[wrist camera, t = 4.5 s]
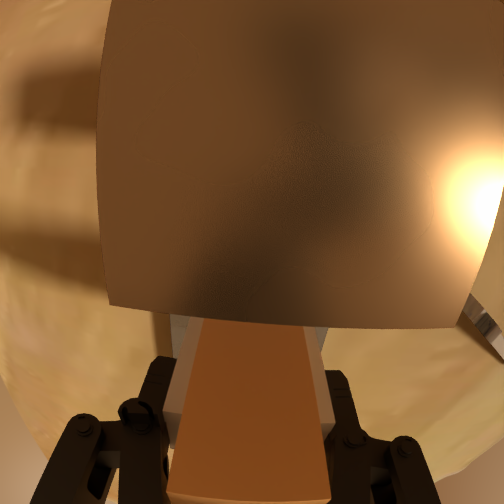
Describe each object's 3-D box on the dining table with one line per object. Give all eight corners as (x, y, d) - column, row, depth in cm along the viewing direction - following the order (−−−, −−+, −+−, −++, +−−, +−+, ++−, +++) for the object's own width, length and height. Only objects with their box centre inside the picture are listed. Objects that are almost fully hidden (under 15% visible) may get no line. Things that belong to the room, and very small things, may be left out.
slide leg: (294, 286, 15) (331, 498, 5) (282, 346, 17) (297, 529, 7) (213, 278, 15) (166, 491, 5) (211, 340, 17) (181, 523, 7)
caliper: (426, 272, 17) (476, 330, 12) (437, 259, 17) (491, 314, 11) (508, 365, 22) (534, 403, 16) (515, 358, 22) (541, 395, 16)
